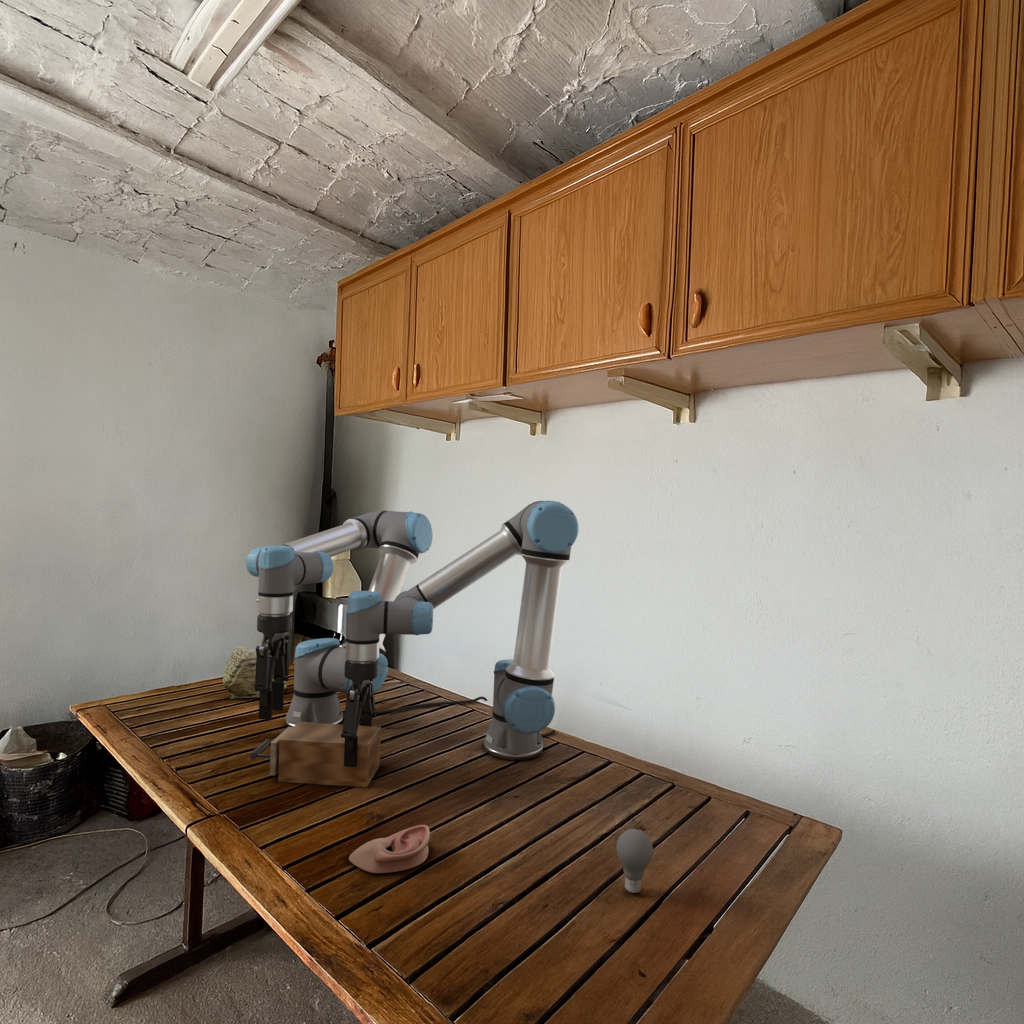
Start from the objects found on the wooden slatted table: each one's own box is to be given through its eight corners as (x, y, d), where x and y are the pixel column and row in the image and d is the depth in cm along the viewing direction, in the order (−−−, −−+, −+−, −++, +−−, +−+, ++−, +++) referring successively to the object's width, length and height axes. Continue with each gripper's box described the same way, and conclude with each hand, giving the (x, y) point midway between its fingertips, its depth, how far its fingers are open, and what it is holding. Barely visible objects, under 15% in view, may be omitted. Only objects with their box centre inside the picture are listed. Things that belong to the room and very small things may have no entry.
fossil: (218, 695, 195) (220, 647, 195) (278, 685, 208) (279, 640, 207) (228, 703, 189) (230, 653, 188) (289, 692, 201) (290, 645, 201)
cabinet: (278, 781, 140) (279, 739, 140) (297, 761, 151) (298, 721, 151) (366, 787, 139) (368, 744, 139) (379, 766, 150) (381, 726, 150)
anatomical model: (341, 845, 108) (369, 813, 120) (340, 868, 108) (368, 833, 120) (414, 857, 106) (436, 823, 117) (413, 880, 106) (435, 844, 117)
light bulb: (610, 879, 108) (613, 822, 108) (644, 879, 109) (647, 822, 109) (619, 902, 102) (622, 840, 102) (655, 901, 103) (658, 840, 103)
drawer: (246, 774, 141) (247, 741, 141) (265, 756, 151) (266, 725, 150) (351, 780, 140) (353, 747, 140) (364, 762, 150) (365, 731, 149)
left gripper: (275, 606, 154) (272, 700, 155) (239, 620, 136) (235, 727, 136) (306, 607, 154) (302, 702, 154) (274, 622, 135) (270, 730, 136)
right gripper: (360, 646, 156) (356, 735, 156) (328, 672, 133) (324, 776, 133) (390, 648, 156) (386, 736, 156) (363, 674, 132) (359, 778, 133)
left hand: (271, 714), depth 145 cm, fingers open, 6 cm apart
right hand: (358, 755), depth 145 cm, fingers closed on cabinet, 11 cm apart
